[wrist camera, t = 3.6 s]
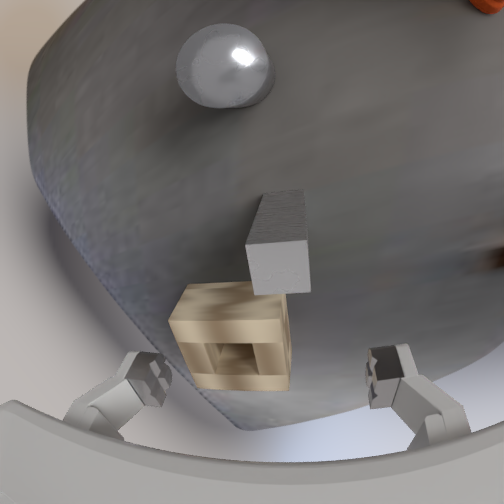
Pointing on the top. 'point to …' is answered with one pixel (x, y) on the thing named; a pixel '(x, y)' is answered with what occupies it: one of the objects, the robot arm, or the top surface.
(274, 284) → the square bit
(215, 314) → the socket block
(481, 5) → the toy drill
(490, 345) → the top surface
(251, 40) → the round bit
